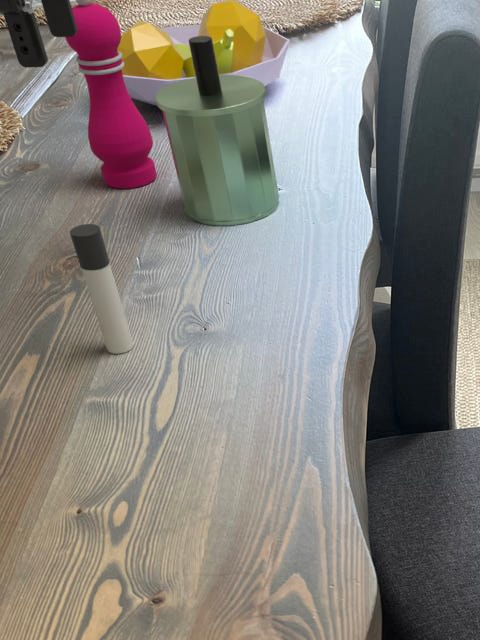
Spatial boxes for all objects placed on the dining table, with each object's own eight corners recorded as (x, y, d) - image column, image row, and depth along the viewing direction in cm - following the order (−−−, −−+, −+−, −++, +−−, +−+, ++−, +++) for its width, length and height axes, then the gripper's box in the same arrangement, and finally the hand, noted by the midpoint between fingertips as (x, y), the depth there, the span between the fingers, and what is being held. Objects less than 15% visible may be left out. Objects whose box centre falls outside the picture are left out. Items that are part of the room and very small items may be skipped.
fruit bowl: (104, 78, 151) (81, -10, 143) (284, 59, 155) (272, -27, 147) (106, 142, 132) (79, 45, 123) (311, 118, 136) (299, 23, 128)
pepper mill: (130, 195, 119) (78, -1, 105) (87, 183, 122) (31, -9, 107) (173, 174, 123) (129, -17, 109) (131, 164, 126) (82, -24, 112)
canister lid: (146, 124, 104) (130, 57, 100) (170, 88, 112) (156, 24, 108) (258, 121, 104) (247, 54, 99) (274, 85, 112) (264, 22, 108)
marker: (103, 354, 92) (65, 236, 85) (110, 341, 94) (74, 224, 86) (130, 354, 92) (95, 235, 85) (137, 340, 94) (103, 223, 86)
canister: (177, 226, 112) (151, 116, 104) (196, 189, 120) (172, 83, 111) (272, 224, 112) (253, 113, 104) (284, 187, 119) (268, 81, 111)
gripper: (-38, -206, 79) (33, 28, 91) (-114, -182, 69) (-23, 78, 81) (57, -209, 79) (116, 25, 90) (-6, -186, 69) (69, 75, 80)
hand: (50, 50), depth 85 cm, fingers open, 8 cm apart
